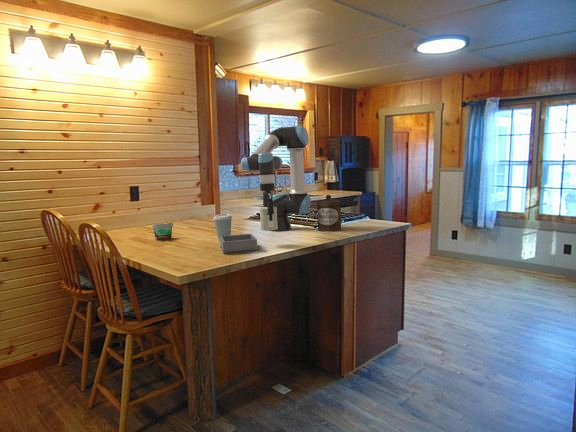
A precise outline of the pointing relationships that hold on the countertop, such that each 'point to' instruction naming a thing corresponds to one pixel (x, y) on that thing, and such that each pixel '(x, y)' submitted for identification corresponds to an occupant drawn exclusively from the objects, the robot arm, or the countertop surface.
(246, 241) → the tub
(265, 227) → the can
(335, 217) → the wooden container
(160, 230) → the food container
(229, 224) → the disposable coffee cup
